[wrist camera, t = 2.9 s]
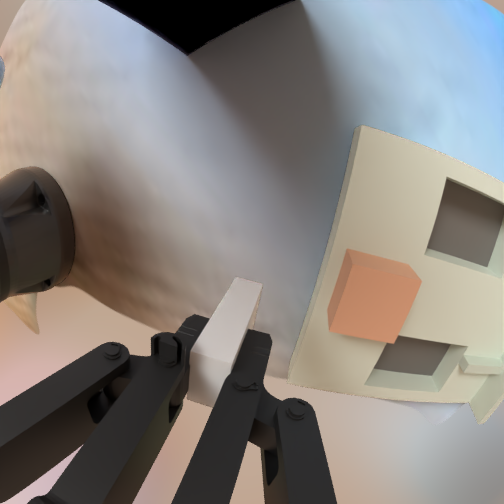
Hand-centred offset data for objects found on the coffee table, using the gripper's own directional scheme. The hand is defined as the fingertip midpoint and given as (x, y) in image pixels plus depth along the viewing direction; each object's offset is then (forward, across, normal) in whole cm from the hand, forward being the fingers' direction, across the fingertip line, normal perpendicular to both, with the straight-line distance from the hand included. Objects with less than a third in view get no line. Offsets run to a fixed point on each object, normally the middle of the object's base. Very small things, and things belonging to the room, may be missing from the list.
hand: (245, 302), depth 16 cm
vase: (+9, -9, +22) cm, 26 cm away
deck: (+9, +16, 0) cm, 18 cm away
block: (+6, +8, 0) cm, 10 cm away
